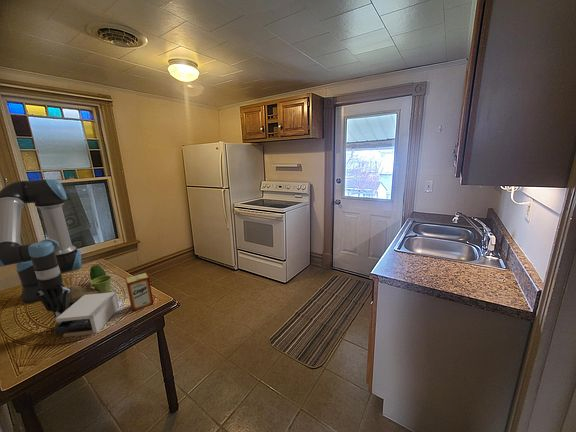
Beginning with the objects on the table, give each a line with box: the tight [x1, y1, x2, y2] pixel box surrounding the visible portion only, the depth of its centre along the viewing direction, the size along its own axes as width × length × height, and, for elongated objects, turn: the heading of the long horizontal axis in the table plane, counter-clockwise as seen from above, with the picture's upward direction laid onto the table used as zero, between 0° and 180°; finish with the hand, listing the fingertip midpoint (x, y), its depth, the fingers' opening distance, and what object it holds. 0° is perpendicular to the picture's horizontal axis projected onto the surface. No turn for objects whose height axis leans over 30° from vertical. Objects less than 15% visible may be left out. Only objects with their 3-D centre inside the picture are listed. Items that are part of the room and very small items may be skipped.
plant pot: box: [90, 275, 112, 294], centre depth 137 cm, size 9×9×9 cm
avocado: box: [89, 264, 107, 281], centre depth 149 cm, size 8×8×12 cm
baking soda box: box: [125, 272, 155, 312], centre depth 125 cm, size 10×6×16 cm
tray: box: [53, 319, 93, 335], centre depth 113 cm, size 16×12×3 cm
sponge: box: [62, 285, 98, 304], centre depth 132 cm, size 13×8×20 cm
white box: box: [55, 291, 120, 338], centre depth 113 cm, size 14×19×9 cm
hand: (62, 322), depth 112 cm, fingers closed
